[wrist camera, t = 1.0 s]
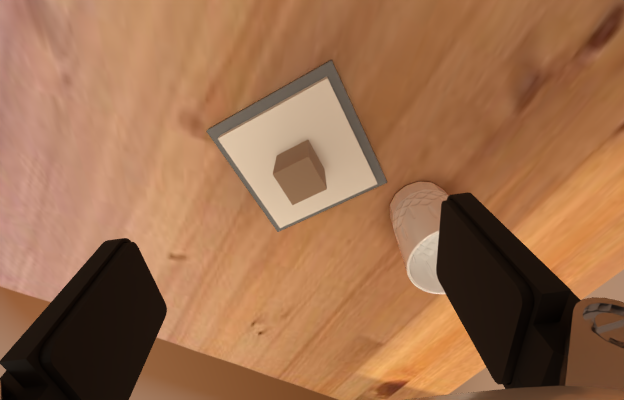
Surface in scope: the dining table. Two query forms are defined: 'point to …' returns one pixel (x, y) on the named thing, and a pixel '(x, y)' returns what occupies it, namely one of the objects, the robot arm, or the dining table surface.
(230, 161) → the grey flat square slab
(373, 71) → the dining table surface
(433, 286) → the white cup
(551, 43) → the dining table surface
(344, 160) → the lid
